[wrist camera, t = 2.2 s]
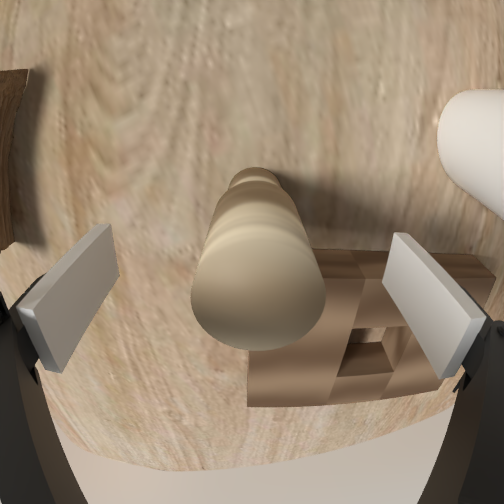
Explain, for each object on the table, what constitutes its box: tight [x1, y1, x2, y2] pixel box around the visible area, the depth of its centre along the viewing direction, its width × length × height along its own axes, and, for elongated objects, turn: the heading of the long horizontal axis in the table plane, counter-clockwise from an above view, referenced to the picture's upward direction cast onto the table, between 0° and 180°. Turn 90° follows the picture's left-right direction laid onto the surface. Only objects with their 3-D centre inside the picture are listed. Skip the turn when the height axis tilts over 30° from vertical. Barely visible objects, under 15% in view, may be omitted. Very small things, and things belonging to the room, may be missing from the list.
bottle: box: [191, 167, 326, 351], centre depth 15 cm, size 4×4×12 cm
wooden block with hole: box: [247, 249, 496, 407], centre depth 24 cm, size 14×20×4 cm
